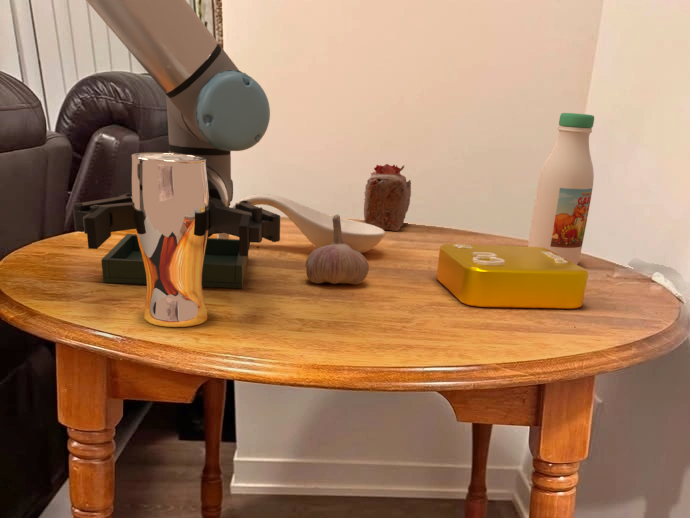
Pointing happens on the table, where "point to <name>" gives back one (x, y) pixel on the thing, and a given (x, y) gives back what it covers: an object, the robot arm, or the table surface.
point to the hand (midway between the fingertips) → (167, 237)
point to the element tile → (511, 276)
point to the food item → (387, 198)
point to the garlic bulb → (336, 261)
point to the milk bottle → (565, 190)
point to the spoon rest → (319, 224)
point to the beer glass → (172, 234)
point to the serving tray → (217, 269)
